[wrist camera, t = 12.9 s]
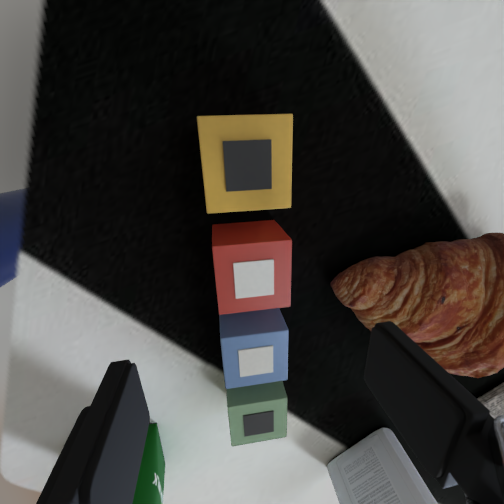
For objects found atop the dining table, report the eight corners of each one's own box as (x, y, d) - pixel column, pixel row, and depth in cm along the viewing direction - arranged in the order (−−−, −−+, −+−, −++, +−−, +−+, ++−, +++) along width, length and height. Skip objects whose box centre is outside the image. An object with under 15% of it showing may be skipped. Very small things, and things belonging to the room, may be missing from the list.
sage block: (228, 396, 27) (231, 447, 22) (224, 360, 25) (227, 408, 20) (274, 389, 28) (286, 438, 23) (274, 353, 26) (287, 399, 21)
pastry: (371, 375, 29) (426, 451, 22) (322, 273, 23) (374, 331, 16) (508, 304, 28) (614, 359, 21) (494, 179, 22) (635, 193, 15)
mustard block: (208, 198, 19) (206, 214, 14) (200, 125, 17) (196, 115, 13) (273, 194, 20) (291, 208, 15) (272, 123, 18) (294, 113, 13)
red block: (212, 224, 20) (211, 247, 15) (274, 219, 21) (292, 240, 16) (217, 280, 22) (219, 316, 17) (274, 274, 22) (290, 307, 18)
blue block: (223, 344, 24) (225, 390, 20) (218, 300, 23) (220, 339, 18) (274, 338, 25) (288, 381, 20) (273, 294, 23) (289, 331, 18)
